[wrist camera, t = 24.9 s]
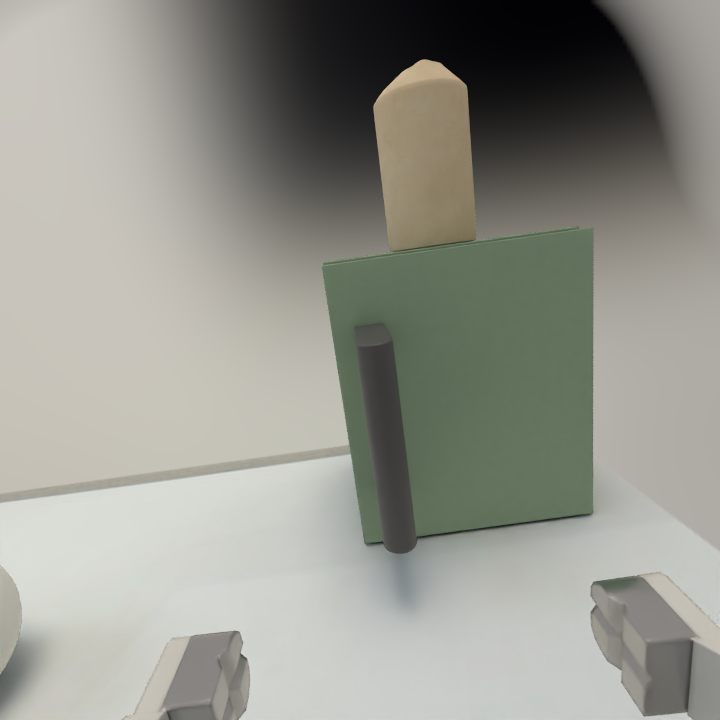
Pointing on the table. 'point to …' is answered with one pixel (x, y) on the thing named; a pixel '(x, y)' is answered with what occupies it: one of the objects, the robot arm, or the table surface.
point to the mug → (8, 617)
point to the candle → (426, 158)
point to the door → (467, 384)
